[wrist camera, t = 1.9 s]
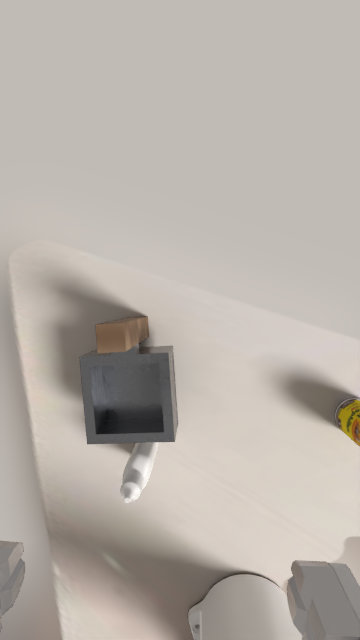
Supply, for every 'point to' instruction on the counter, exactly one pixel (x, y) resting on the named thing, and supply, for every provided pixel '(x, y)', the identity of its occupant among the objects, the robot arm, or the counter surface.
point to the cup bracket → (128, 386)
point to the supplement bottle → (349, 418)
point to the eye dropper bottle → (138, 470)
